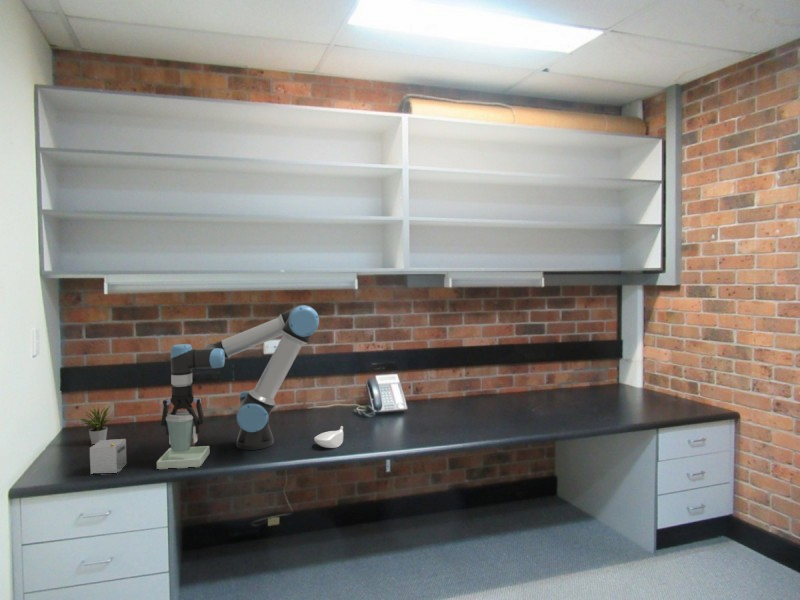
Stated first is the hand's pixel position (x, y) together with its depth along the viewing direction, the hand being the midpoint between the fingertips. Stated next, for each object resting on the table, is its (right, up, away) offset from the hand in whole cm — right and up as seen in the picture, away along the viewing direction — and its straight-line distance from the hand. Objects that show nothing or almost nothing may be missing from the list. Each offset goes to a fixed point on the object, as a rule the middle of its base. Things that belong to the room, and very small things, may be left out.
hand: (183, 442), depth 201 cm
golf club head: (+54, -6, +17) cm, 57 cm away
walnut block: (-4, -7, +15) cm, 17 cm away
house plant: (-47, -7, +25) cm, 53 cm away
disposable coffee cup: (-1, -3, 0) cm, 3 cm away
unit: (-24, -8, -8) cm, 27 cm away
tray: (0, -7, 0) cm, 7 cm away
